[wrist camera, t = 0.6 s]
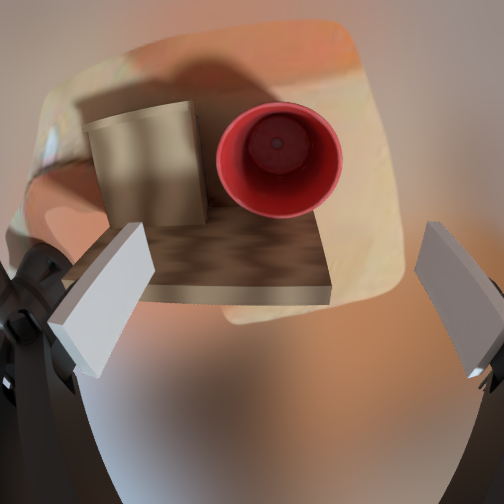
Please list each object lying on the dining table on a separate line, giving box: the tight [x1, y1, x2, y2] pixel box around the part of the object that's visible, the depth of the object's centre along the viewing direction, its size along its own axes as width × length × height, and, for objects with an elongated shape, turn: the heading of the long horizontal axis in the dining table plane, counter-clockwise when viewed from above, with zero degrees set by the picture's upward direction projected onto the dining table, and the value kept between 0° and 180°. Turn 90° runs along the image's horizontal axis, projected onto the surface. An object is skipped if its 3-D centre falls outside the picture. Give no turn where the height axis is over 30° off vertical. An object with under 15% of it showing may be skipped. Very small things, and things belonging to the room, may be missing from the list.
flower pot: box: [216, 102, 343, 218], centre depth 27 cm, size 11×11×10 cm
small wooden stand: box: [82, 100, 209, 229], centre depth 31 cm, size 13×14×6 cm
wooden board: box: [61, 206, 332, 305], centre depth 30 cm, size 26×2×16 cm, turn 94°
